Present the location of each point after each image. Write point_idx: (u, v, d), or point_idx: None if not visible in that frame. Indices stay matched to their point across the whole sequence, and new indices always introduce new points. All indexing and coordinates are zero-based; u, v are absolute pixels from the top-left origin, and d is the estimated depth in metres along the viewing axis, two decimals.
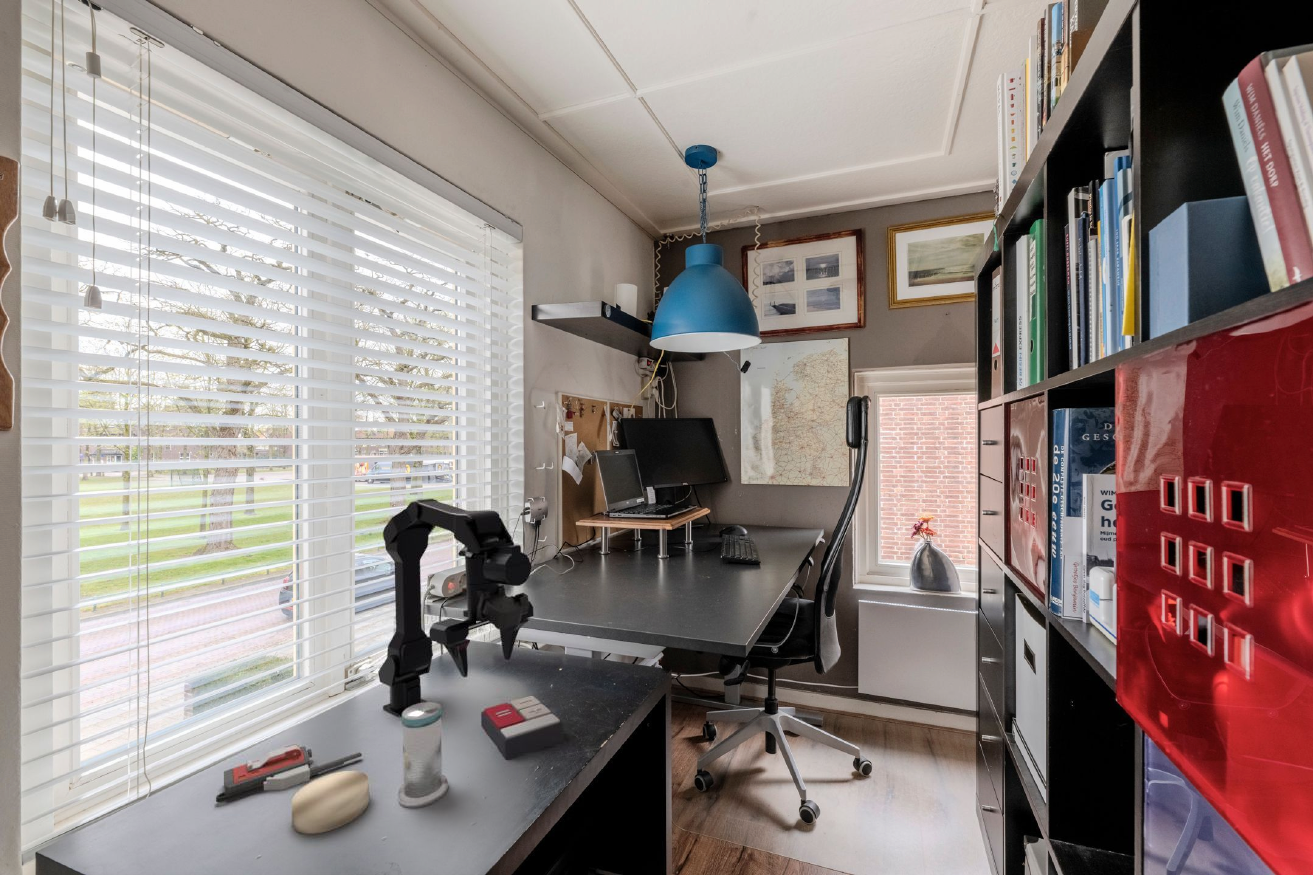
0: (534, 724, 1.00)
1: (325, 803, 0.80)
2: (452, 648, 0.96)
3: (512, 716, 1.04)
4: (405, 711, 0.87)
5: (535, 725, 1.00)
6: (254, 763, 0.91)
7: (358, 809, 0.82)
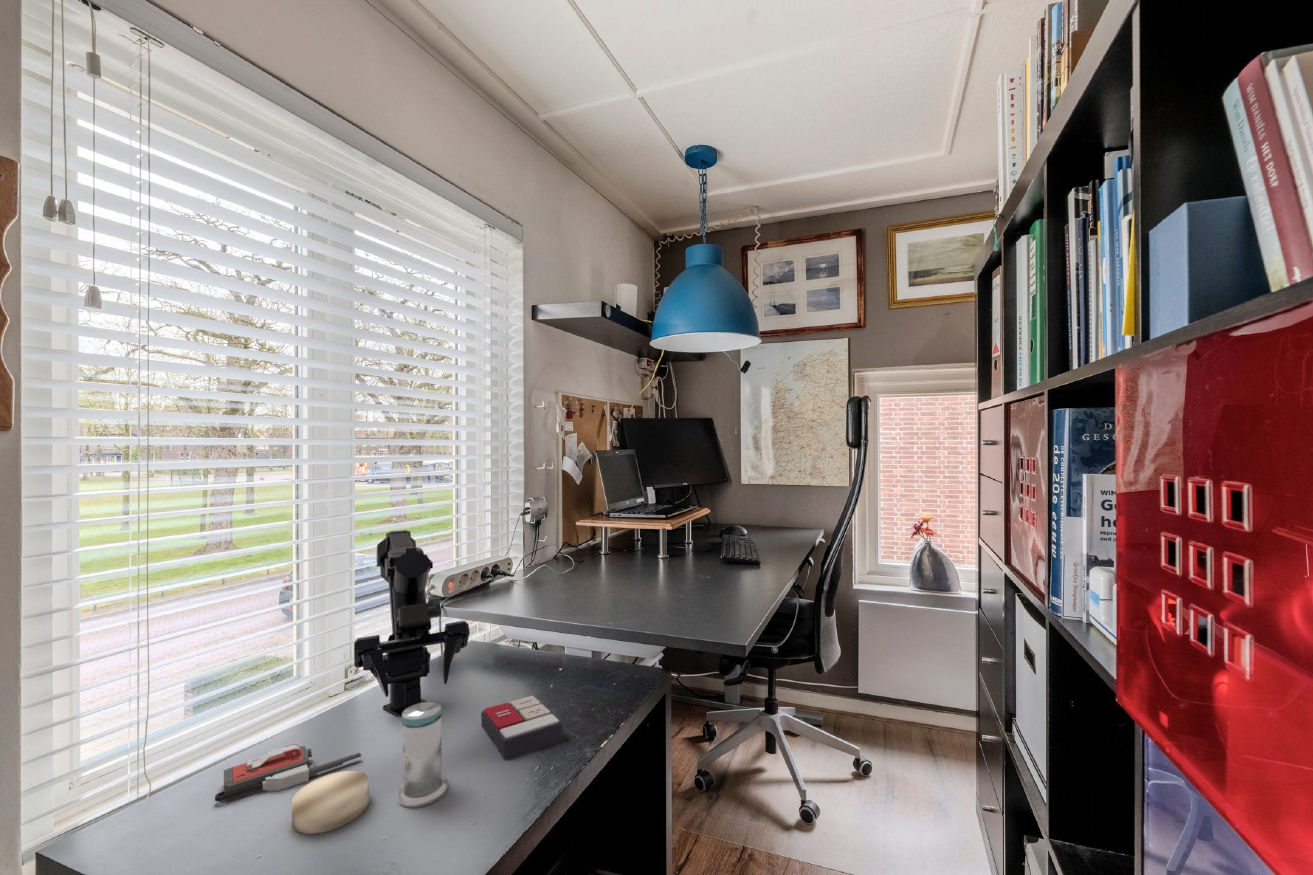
0: (533, 724, 1.00)
1: (325, 803, 0.80)
2: (376, 671, 0.95)
3: (512, 716, 1.04)
4: (405, 711, 0.87)
5: (534, 725, 1.00)
6: (254, 762, 0.91)
7: (358, 809, 0.82)
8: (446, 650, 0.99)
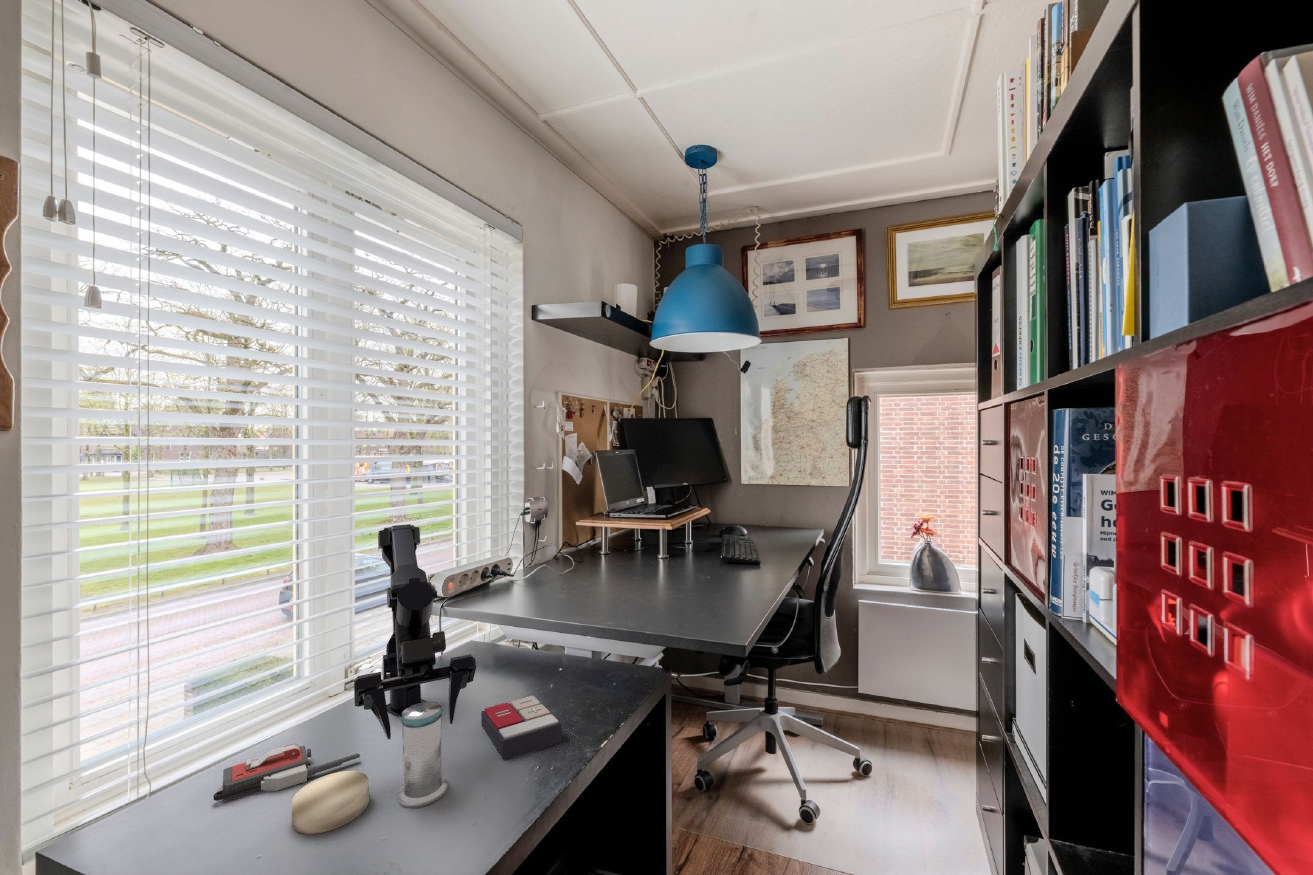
0: (532, 725, 1.00)
1: (325, 803, 0.80)
2: (377, 710, 0.89)
3: (512, 716, 1.04)
4: (405, 711, 0.87)
5: (533, 726, 1.00)
6: (253, 762, 0.91)
7: (358, 809, 0.82)
8: (452, 687, 0.93)
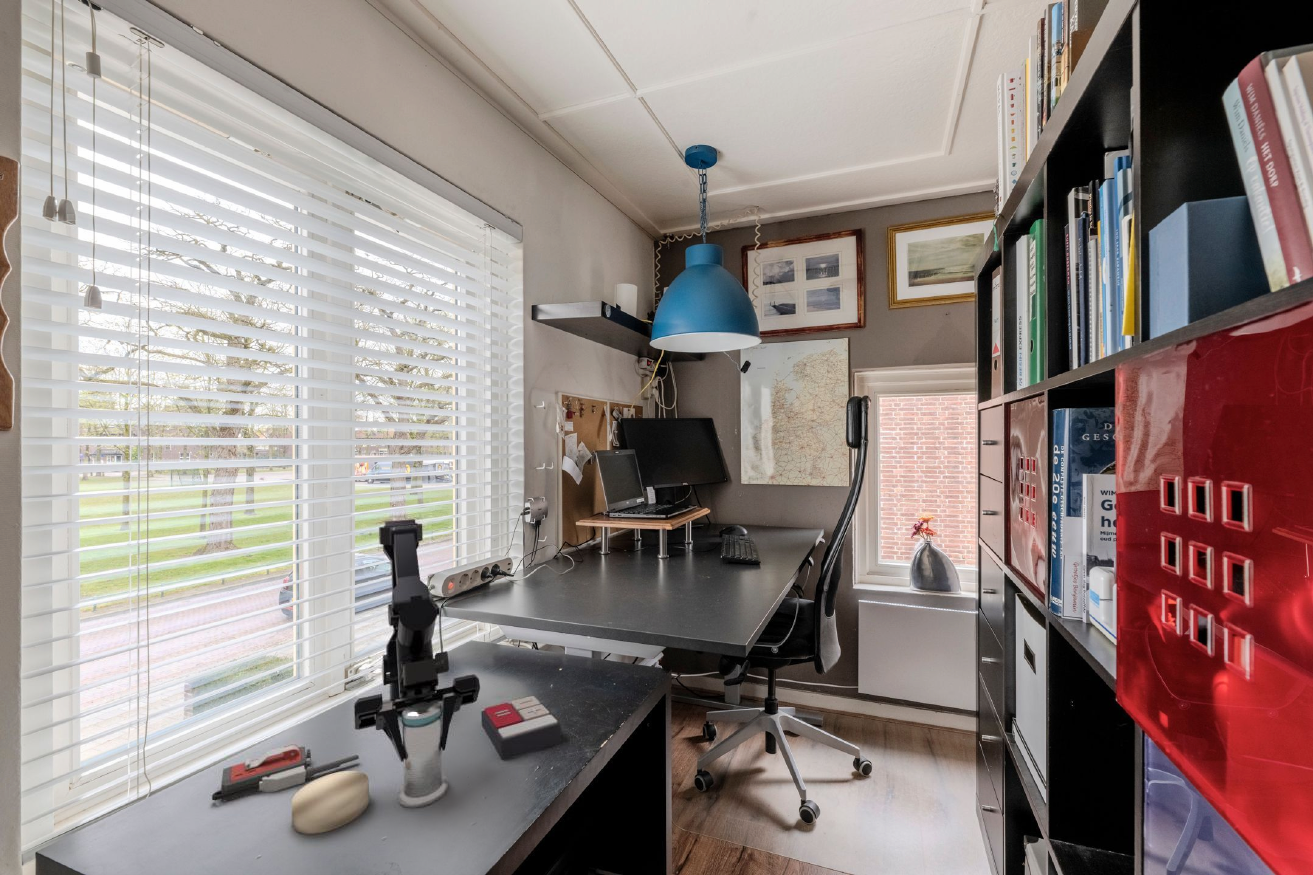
0: (531, 725, 1.00)
1: (325, 803, 0.80)
2: (390, 731, 0.87)
3: (511, 716, 1.04)
4: (405, 711, 0.87)
5: (532, 726, 1.00)
6: (252, 762, 0.91)
7: (358, 809, 0.82)
8: (444, 711, 0.90)
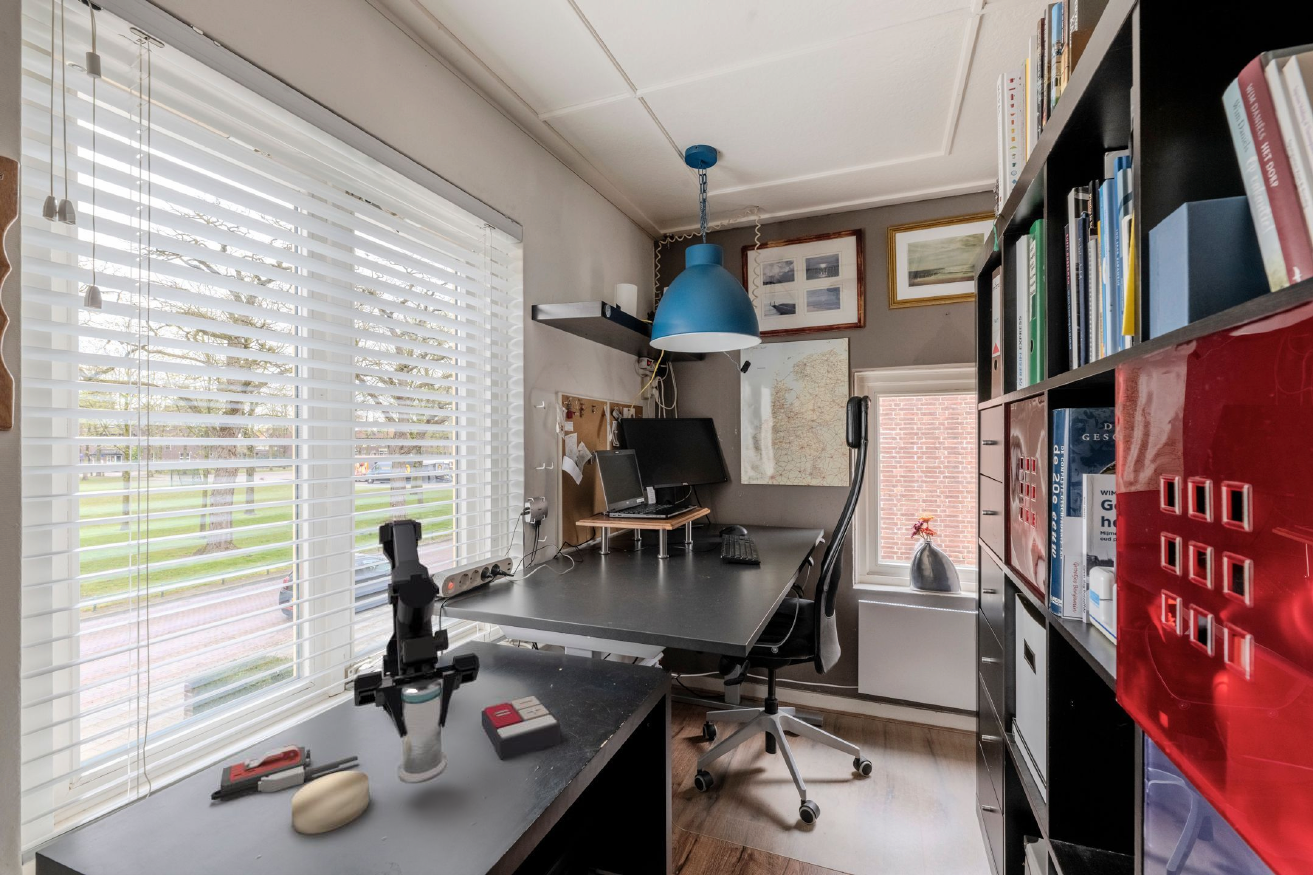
0: (531, 725, 1.00)
1: (325, 803, 0.80)
2: (389, 708, 0.88)
3: (511, 716, 1.04)
4: (405, 688, 0.87)
5: (531, 726, 1.00)
6: (252, 762, 0.91)
7: (358, 809, 0.82)
8: (444, 689, 0.90)
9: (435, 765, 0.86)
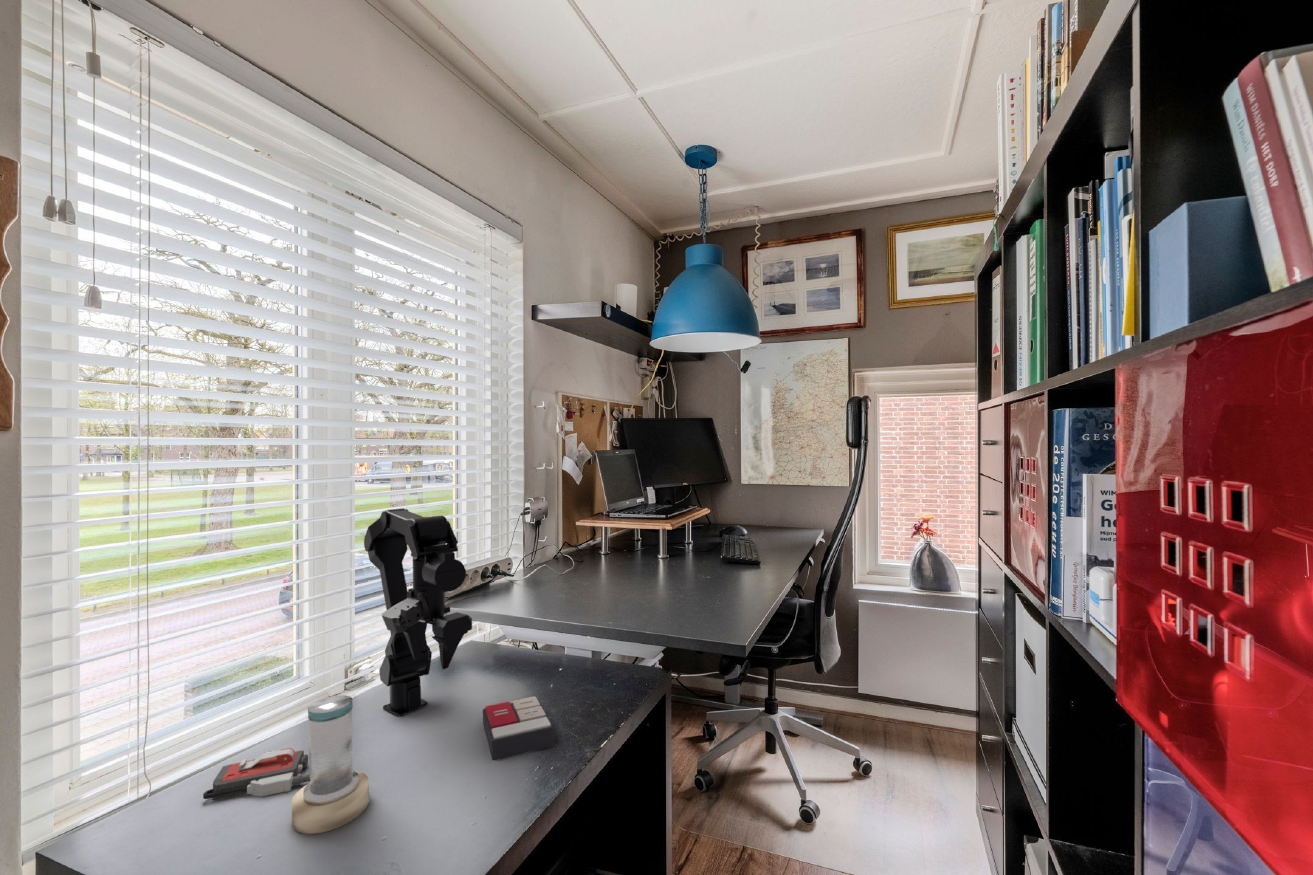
0: (524, 726, 1.00)
1: None
2: None
3: (508, 716, 1.04)
4: (317, 701, 0.84)
5: (525, 727, 0.99)
6: (249, 762, 0.91)
7: (358, 809, 0.82)
8: (439, 643, 1.02)
9: (335, 789, 0.81)
